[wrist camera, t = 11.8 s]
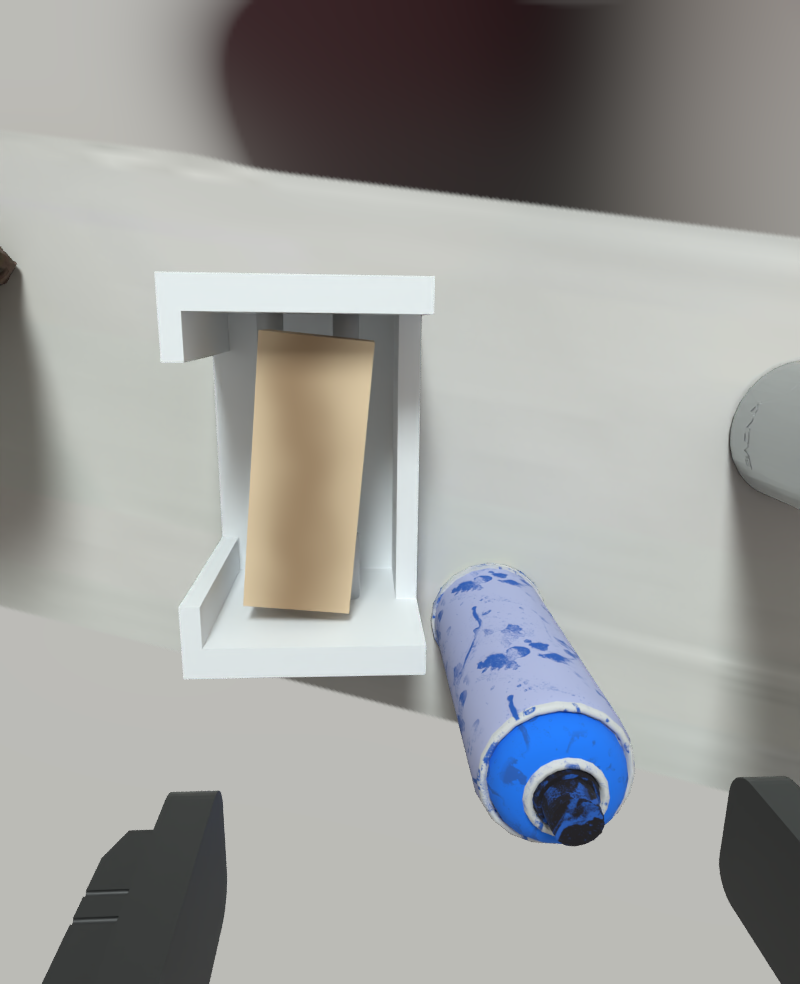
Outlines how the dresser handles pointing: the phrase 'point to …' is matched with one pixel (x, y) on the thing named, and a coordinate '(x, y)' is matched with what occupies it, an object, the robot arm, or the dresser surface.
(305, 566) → the shelf board
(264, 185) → the dresser surface
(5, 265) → the statue
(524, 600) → the aerosol can
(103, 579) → the dresser surface
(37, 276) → the dresser surface
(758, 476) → the robot arm
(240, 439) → the cabinet bay
